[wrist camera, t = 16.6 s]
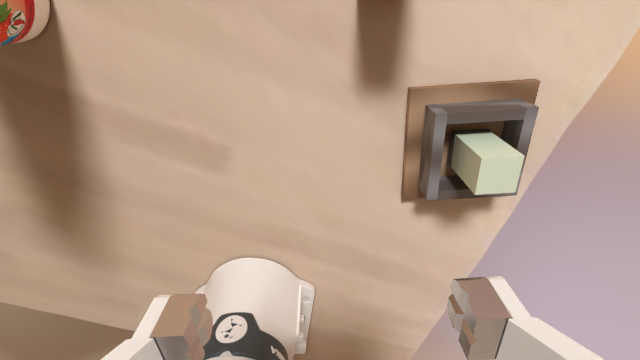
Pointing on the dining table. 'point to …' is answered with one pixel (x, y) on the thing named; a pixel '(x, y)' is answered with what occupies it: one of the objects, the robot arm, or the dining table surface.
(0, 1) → the fruit juice
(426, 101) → the socket board
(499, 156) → the sage peg
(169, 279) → the dining table surface
